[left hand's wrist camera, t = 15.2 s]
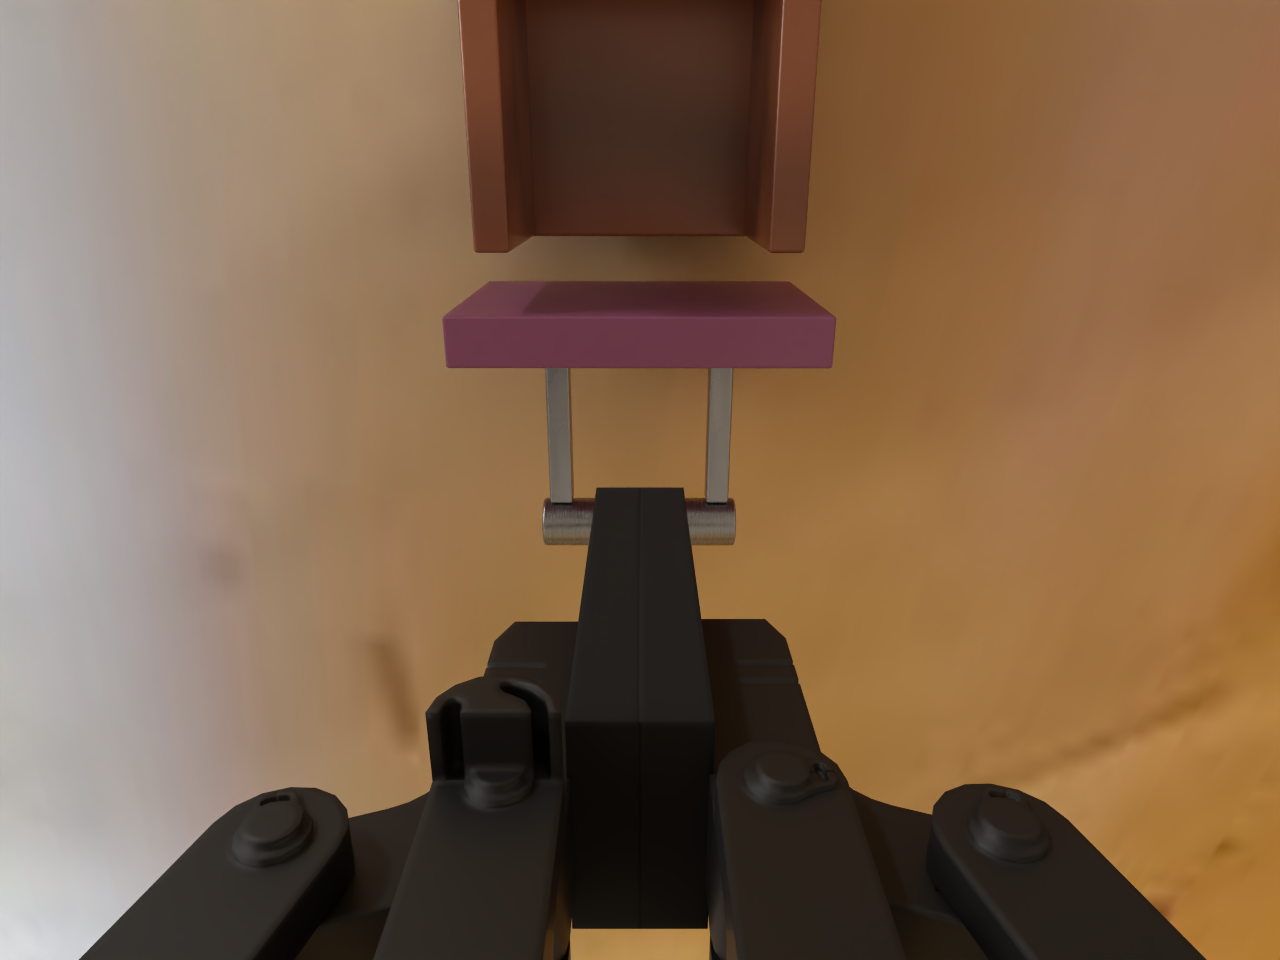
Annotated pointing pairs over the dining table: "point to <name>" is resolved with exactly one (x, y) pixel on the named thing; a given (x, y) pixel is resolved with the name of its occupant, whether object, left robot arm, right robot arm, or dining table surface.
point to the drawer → (639, 201)
